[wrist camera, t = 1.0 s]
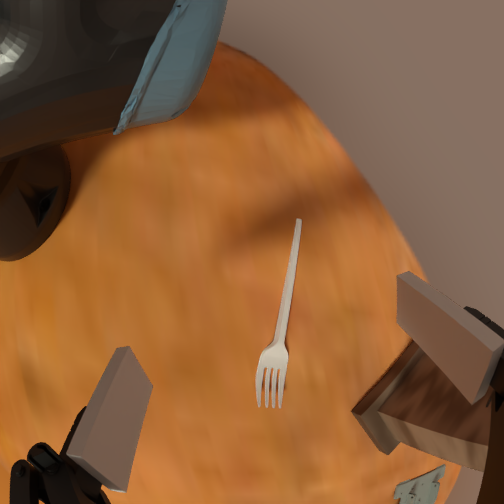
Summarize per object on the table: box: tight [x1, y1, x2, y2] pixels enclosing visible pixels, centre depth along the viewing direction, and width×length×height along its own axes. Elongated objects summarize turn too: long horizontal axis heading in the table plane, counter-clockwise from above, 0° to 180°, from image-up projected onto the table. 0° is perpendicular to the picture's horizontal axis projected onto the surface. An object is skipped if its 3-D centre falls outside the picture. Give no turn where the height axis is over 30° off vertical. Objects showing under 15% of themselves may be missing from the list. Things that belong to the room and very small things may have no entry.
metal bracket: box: [394, 464, 445, 504], centre depth 25 cm, size 14×6×15 cm
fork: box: [256, 218, 302, 408], centre depth 27 cm, size 3×20×2 cm, turn 168°
